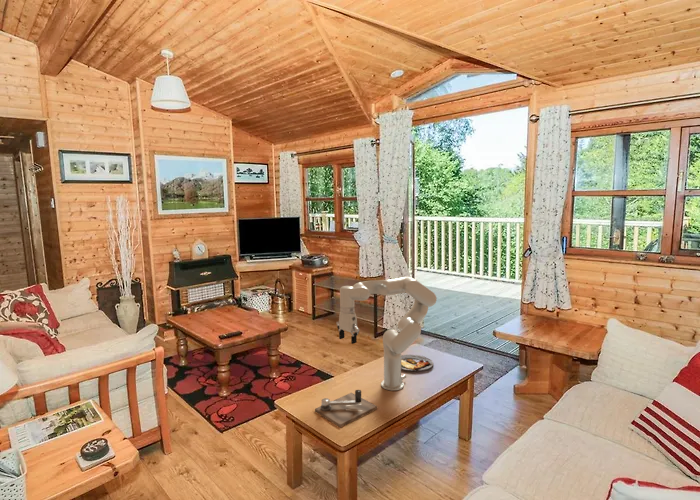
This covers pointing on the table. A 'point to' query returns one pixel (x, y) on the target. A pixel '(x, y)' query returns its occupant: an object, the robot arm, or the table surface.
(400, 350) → the robot arm
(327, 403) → the lever
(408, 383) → the table surface
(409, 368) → the food plate
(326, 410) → the cracker board
